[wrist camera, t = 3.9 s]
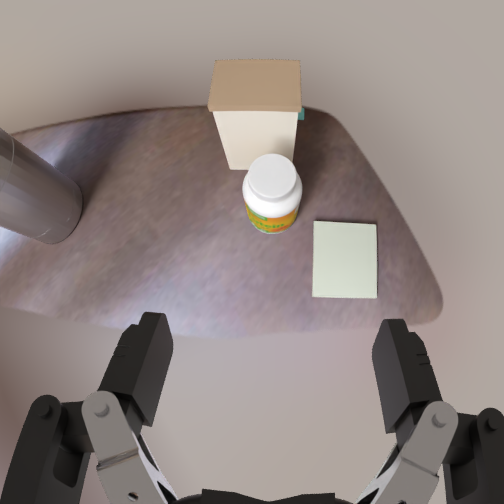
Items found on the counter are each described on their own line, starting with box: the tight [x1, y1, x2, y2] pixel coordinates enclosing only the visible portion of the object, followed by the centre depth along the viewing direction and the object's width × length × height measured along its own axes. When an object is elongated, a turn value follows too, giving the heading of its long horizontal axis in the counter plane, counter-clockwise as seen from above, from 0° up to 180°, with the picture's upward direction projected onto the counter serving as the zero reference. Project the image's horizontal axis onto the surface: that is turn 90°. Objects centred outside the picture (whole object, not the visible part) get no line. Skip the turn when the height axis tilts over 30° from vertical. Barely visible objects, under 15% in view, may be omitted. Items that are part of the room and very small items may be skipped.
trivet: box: [312, 221, 377, 298], centre depth 33 cm, size 7×8×1 cm
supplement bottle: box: [243, 153, 302, 234], centre depth 30 cm, size 5×5×10 cm
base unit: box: [208, 59, 304, 170], centre depth 30 cm, size 8×5×13 cm
